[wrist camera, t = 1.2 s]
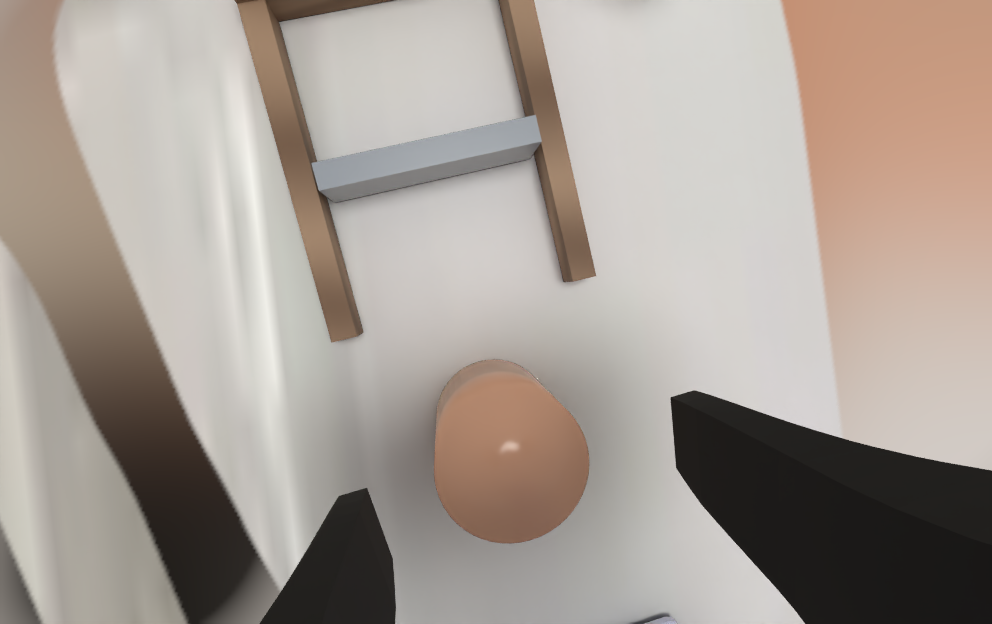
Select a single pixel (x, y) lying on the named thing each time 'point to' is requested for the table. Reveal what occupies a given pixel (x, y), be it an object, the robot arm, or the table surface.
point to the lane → (261, 13)
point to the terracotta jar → (506, 454)
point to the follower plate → (427, 159)
